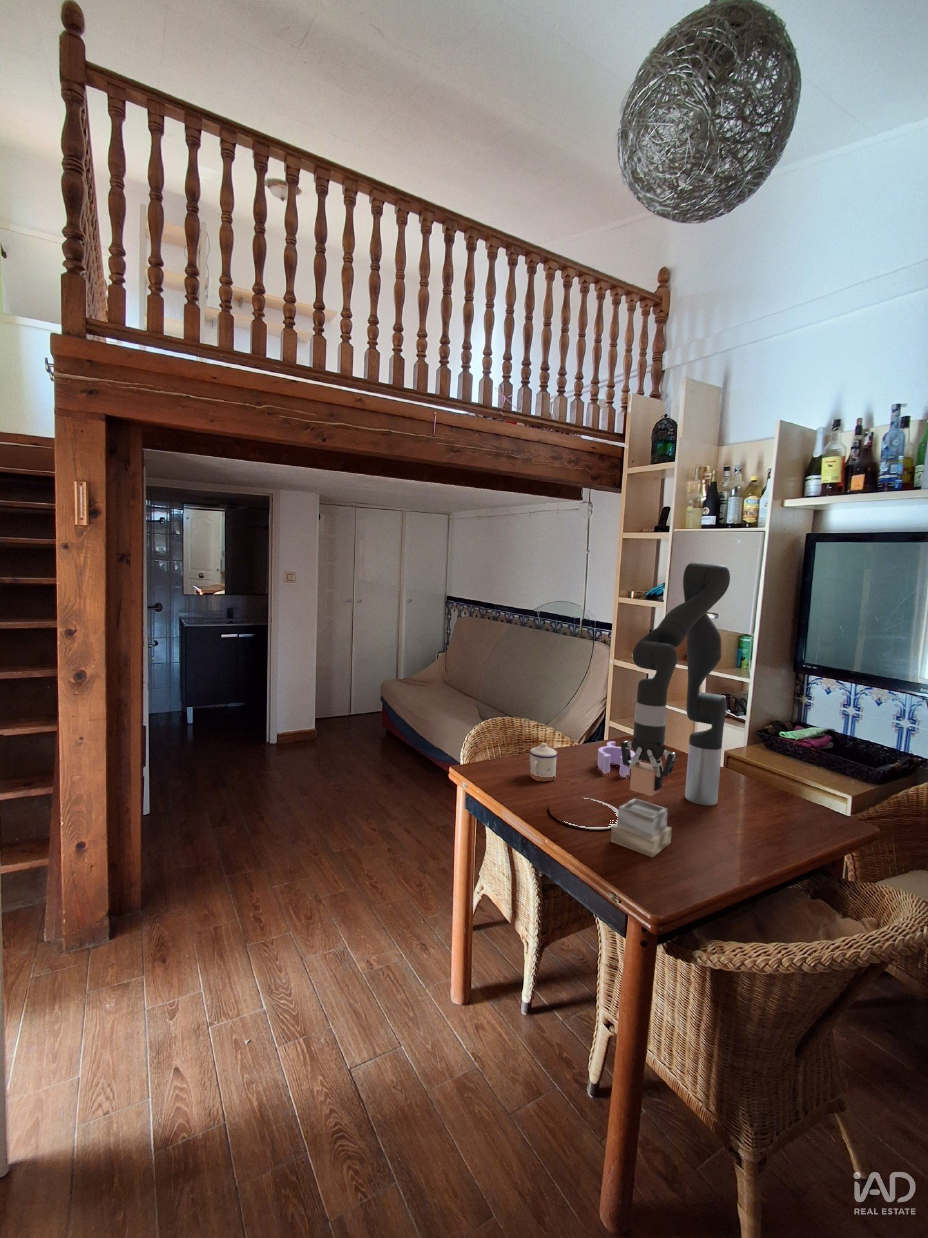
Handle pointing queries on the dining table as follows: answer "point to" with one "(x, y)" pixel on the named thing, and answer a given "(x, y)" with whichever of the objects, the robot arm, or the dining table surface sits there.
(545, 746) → the teacup with lid
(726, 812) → the dining table surface
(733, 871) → the dining table surface
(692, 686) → the robot arm
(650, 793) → the top block
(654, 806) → the stepped translucent block
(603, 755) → the clip
